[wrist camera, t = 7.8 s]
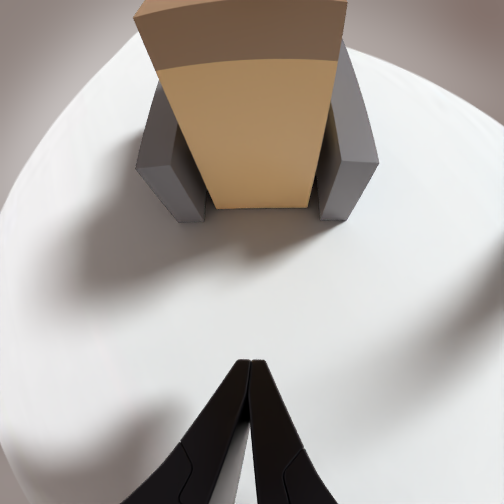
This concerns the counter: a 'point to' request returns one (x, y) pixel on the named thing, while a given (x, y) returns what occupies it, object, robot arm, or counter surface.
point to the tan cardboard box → (248, 90)
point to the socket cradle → (328, 167)
